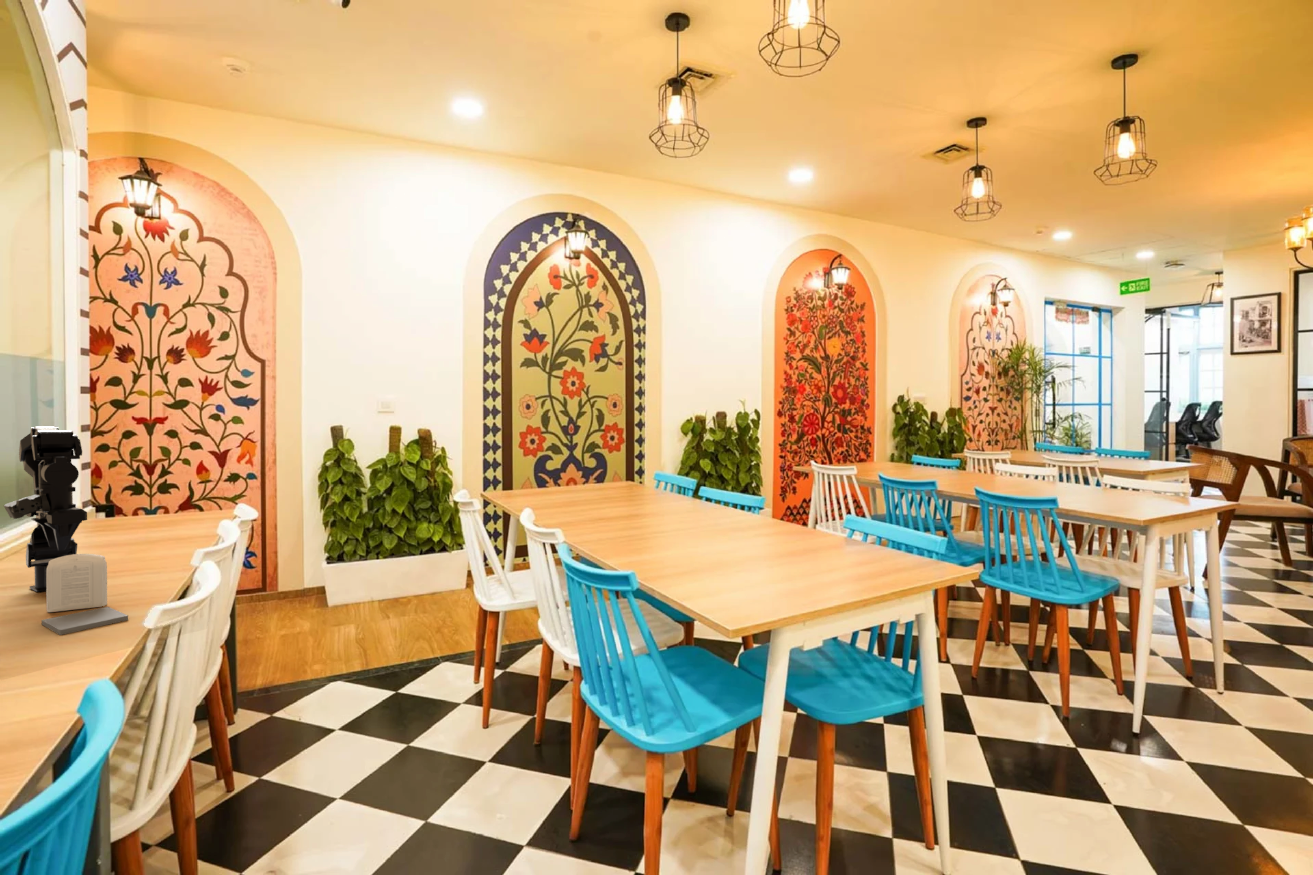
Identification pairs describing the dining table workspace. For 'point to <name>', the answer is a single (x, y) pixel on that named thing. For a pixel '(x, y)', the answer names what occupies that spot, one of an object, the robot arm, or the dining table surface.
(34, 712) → the dining table surface
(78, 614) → the board
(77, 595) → the photo printer
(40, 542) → the robot arm
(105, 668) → the dining table surface
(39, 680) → the dining table surface
